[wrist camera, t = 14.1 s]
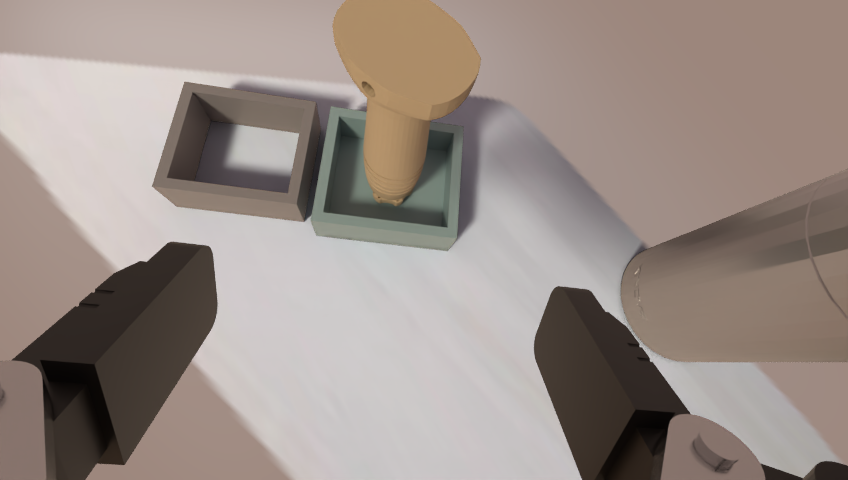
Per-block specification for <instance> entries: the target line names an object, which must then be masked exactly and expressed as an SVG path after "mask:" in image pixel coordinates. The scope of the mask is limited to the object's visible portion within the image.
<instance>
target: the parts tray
mask: <svg viewBox="0 0 848 480" xmlns="http://www.w3.org/2000/svg"><path fill="white" fill-rule="evenodd" d="M366 113H367V112H365V111H358V110H352V109H345V108H338V107H332V106H331V108H330V114H329V120H328V125H327V131H326V137H325V142H324V148H323V154H322V159H321V165H320V171H319V176H318V182H317V188H316V194H315V199H314V205H313V211H312V216H311V223H312V225H313V228H314V231H315V233H316V236H324V237H332V238H341V239H349V240H358V241H367V242H375V243H384V244H392V245H401V246H409V247H418V248H426V249H435V250H443V251H448V250H449V249H450V247H451V246H452V245H453V243H454V242H455V241H456V239H457V230H458V213H459V196H460V179H461V162H462V145H463V128H464V127H463V126H457V125H450V124H443V123H437V122H430V128H429V136H428V143H427V150H426V157H425V161H424V165H423V169H422V172H421V174H420V177H419V179H418V181H417V183H416V185H415V186H414V189H413V191H412V193H411V194H410V195H409V196H407V197H405V198H404V199H403V202H402V204H401V205H399V206H394V205H393V204H390V203H381V204H380V203H378V202H376V200H375V199H374V197H373V191H372V189H371V187H370V186H369V183H368V180H367V177H366V173H365V166H364V156H363V145H364V135H365V125H366Z"/></svg>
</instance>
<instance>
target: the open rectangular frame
mask: <svg viewBox="0 0 848 480" xmlns="http://www.w3.org/2000/svg"><path fill="white" fill-rule="evenodd" d="M211 121H218V122H225V123H232V124H239V125H246V126H253V127H260V128H267V129H274V130H281V131H288V132H294V133H299V138H298V143H297V149H296V154H295V159H294V164H293V169H292V174H291V179H290V184H289V189H288V193H281V192H273V191H266V190H258V189H250V188H242V187H234V186H226V185H219V184H211V183H203V182H195V181H194V180H195V176H196V172H197V169H198V165H199V162H200V158H201V154H202V151H203V147H204V144H205V140H206V136H207V133H208V129H209V125H210V122H211ZM320 131H321V126H320V121H319V115H318V110H317V105H316V102H314V101H307V100H301V99H294V98H288V97H281V96H275V95H268V94H262V93H255V92H249V91H242V90H235V89H229V88H222V87H216V86H209V85H203V84H196V83H190V82H184V85H183V88H182V92H181V95H180V98H179V101H178V105H177V108H176V111H175V114H174V117H173V121H172V124H171V127H170V130H169V134H168V137H167V140H166V143H165V146H164V150H163V153H162V156H161V159H160V163H159V166H158V169H157V172H156V175H155V179H154V182H153V185H152V187H154V188H155V189H156V190H157V191H158V192H160V193H161V194H162V195H163V196H164V197H166V198H167V199H168V200H169V201H170V202H172V203H173V204H174V205H175V206H177V207H185V208H193V209H202V210H210V211H218V212H227V213H235V214H243V215H251V216H260V217H268V218H276V219H285V220H293V221H301V222H304V219H305V214H306V208H307V203H308V197H309V192H310V186H311V181H312V175H313V170H314V164H315V159H316V153H317V148H318V142H319V137H320Z"/></svg>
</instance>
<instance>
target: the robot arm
mask: <svg viewBox="0 0 848 480" xmlns="http://www.w3.org/2000/svg"><path fill="white" fill-rule="evenodd" d="M621 300H622V306H623V310H624V313H625V315H626V318H627V321H628V323H629V324H630V326H631V328H632V330H633V331H634V333H635V334H636V335H637V336H638V338H639V339H640V340H641V341H642V342H643V343H644V344H645V345H646V346H647V347H649V348H650V349H651V350H652V351H654V352H655V353H657V354H659V355H661V356H663V357H664V358H668V359H671V360H674V361H681V362H848V169H846V170H844V171H841V172H839V173H837V174H835V175H832V176H830V177H827V178H825V179H822V180H820V181H817V182H815V183H812V184H810V185H807V186H804V187H802V188H799V189H797V190H795V191H792V192H789V193H787V194H784V195H782V196H779V197H777V198H774V199H772V200H769V201H767V202H764V203H762V204H759V205H757V206H754V207H752V208H749V209H747V210H744V211H742V212H739V213H737V214H734V215H732V216H730V217H727V218H724V219H722V220H719V221H717V222H714V223H712V224H709V225H707V226H704V227H702V228H699V229H697V230H694V231H692V232H689V233H687V234H684V235H681V236H679V237H676V238H674V239H672V240H669V241H667V242H664V243H661V244H659V245H656V246H654V247H651V248H649V249H646V250H644V251H642V252H641V253H639V254H638V255H636V256H635V257H634V258H633V260H632V261H631V262H630V263H629V264H628V266H627V268H626V270H625V272H624V275H623V279H622V283H621ZM216 314H217V292H216V282H215V271H214V261H213V253H212V250H211V248H210V247H209V246H205V245H196V244H187V243H179V242H169V243H167V244H166V245H165V246H164V247H163V248H162V249H161V250H160V251H158V252H157V253H156V254H155V255H154V256H153V257H152V258H151V259H150V260H149V261H147V262H143V261H139V262H137V263H135V264H133V265H131V266H129V267H127V268H124V269H122V270H120V271H118V272H116V273H114V274H113V275H112V276H110V277H109V278H108V279H107V280H106V281H104V282H103V283H102V284H101V285H100V286H99V287H97V288H96V289H95V293H90V294H89V295H88V296H87V297H86V298H85V299H83V300H82V301H81V302H80V303H79V306H78V307H76V306H75V307H74V308H73V309H72V310H70V311H69V312H68V313H67V314H66V315H64V316H63V317H62V318H61V319H60V320H58V321H57V322H56V323H55V324H54V325H53V326H52V327H50V328H49V329H48V330H47V331H45V332H44V333H43V334H42V335H41V336H40V337H39V338H37V339H36V340H35V341H34V342H33V343H31V344H30V345H29V346H28V347H27V348H25V349H24V350H23V351H22V352H21V353H20V354H18V355H17V356H16V357H15V358H14V359H12V360H11V361H0V480H85V479H86V478H87V476H88V475H89V474H90V472H91V471H92V469H93V468H94V467H95V465H96V464H97V463H99V464H117V465H125V463H126V462H127V460H128V459H129V457H130V455H131V454H132V452H133V451H134V449H135V448H136V446H137V444H138V443H139V442H140V440H141V438H142V437H143V435H144V434H145V432H146V431H147V429H148V427H149V426H150V424H151V423H152V421H153V420H154V418H155V416H156V415H157V413H158V412H159V410H160V409H161V407H162V406H163V404H164V402H165V401H166V399H167V398H168V396H169V395H170V393H171V391H172V390H173V388H174V387H175V385H176V384H177V382H178V381H179V379H180V377H181V376H182V374H183V373H184V371H185V370H186V368H187V366H188V365H189V363H190V362H191V360H192V359H193V357H194V356H195V354H196V353H197V351H198V349H199V348H200V346H201V345H202V343H203V342H204V340H205V338H206V337H207V335H208V334H209V332H210V331H211V329H212V327H213V324H214V322H215V318H216ZM534 354H535V359H536V362H537V365H538V367H539V370H540V373H541V375H542V378H543V380H544V383H545V385H546V388H547V391H548V393H549V396H550V398H551V401H552V403H553V406H554V409H555V411H556V414H557V416H558V419H559V421H560V424H561V426H562V429H563V432H564V434H565V437H566V439H567V442H568V444H569V447H570V450H571V452H572V455H573V457H574V460H575V462H576V465H577V468H578V470H579V473H580V475H581V478H582V480H848V466H847V465H843V464H840V463H836V462H830V461H824V462H820V463H818V464H817V465H816V466H815V467H814V468H813V469H812V470H811V471H810V472H809V473H808V474H807V475H806V476H805V477H804V478H801V477H798V476H795V475H792V474H789V473H786V472H783V471H781V470H778V469H775V468H772V467H769V466H766V465H763V464H760V463H759V461H758V459H757V458H756V456H755V455H754V454H753V453H752V451H751V450H750V449H749V448H748V447H747V446H746V445H745V444H744V443H743V442H742V441H741V440H740V439H739V438H737V437H736V436H735V435H734V434H732V433H731V432H730V431H728V430H727V429H725V428H724V427H722V426H720V425H718V424H717V423H715V422H713V421H710V420H708V419H706V418H703V417H700V416H696V415H691V414H690V412H689V411H688V410H687V408H686V407H685V406H684V404H683V403H682V401H681V400H680V399H679V397H678V396H677V395H676V393H675V392H674V391H673V389H672V388H671V386H670V385H669V384H668V382H667V381H666V380H665V378H664V377H663V376H662V374H661V373H660V372H659V370H658V369H657V367H656V366H655V365H654V363H653V362H650V358H649V357H648V355H647V354H646V352H645V351H644V350H643V348H640V347H639V343H638V342H637V340H636V339H635V338H634V336H633V335H632V333H631V332H630V331H629V329H628V328H627V327H626V326H625V325H623V324H622V323H621V322H620V321H619V320H617V319H616V318H615V317H614V316H612V315H611V314H610V313H609V312H605V311H604V309H603V308H602V306H601V305H600V304H599V302H598V301H597V299H596V298H595V296H594V295H593V294H592V292H591V291H589V290H587V289H578V288H569V287H560V286H558V287H556V288H554V290H553V291H552V293H551V295H550V298H549V301H548V303H547V306H546V309H545V311H544V314H543V317H542V319H541V322H540V325H539V328H538V330H537V333H536V336H535V341H534Z"/></svg>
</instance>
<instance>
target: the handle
mask: <svg viewBox="0 0 848 480" xmlns="http://www.w3.org/2000/svg"><path fill="white" fill-rule="evenodd" d="M333 33H334V41H335V45H336V47H337V50H338V52H339V55H340V57H341V59H342V62H343V64H344V66H345V68H346V70H347V72H348V73H349V75H350V76H351V78H352V80H353V81H354V83H355V84H356V85H357V87H358V88H359V89H360V91H361V92H362V93H363V94H364V95H365V96H366V97H367V113H366V125H365V135H364V145H363V156H364V166H365V173H366V177H367V180H368V183H369V186H370V187H371V189H372V191H373V197H374V199H375V200H376V202H378V203H380V204H381V203H390V204H393V205H394V206H399V205H401V204H402V202H403V199H404V198H405V197H407V196H409V195H410V194H411V193H412V191H413V189H414V186H415V185H416V183H417V181H418V179H419V177H420V174H421V172H422V169H423V165H424V161H425V157H426V150H427V143H428V136H429V128H430V122H431V120H434V119H438V118H441V117H444V116H446V115H448V114H449V113H451V112H453V111H454V110H455V109H456V108H458V107H459V106H460V105H461V104H462V103H463V101H464V100H465V99H466V98H467V96H468V95H469V93H470V91H471V89H472V87H473V85H474V83H475V80H476V78H477V75H478V72H479V68H480V60H481V58H480V56H479V54H478V52H477V50H476V48H475V47H474V45H473V43H472V42H471V40H470V38H469V36H468V35H467V33H466V31H465V30H464V29H463V27H462V26H461V25H460V24H459V23H458V22H457V21H456V20H455V19H454V18H453V17H451V16H450V15H449V14H447V13H446V12H445V11H443V10H442V9H441V8H440V7H438V6H437V5H436V4H434V3H433V2H431V1H429V0H346V1H345V2H344V3H343V4H342V5H341V7H340V8H339V9H338V10H337V13H336V15H335V17H334V21H333Z"/></svg>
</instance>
